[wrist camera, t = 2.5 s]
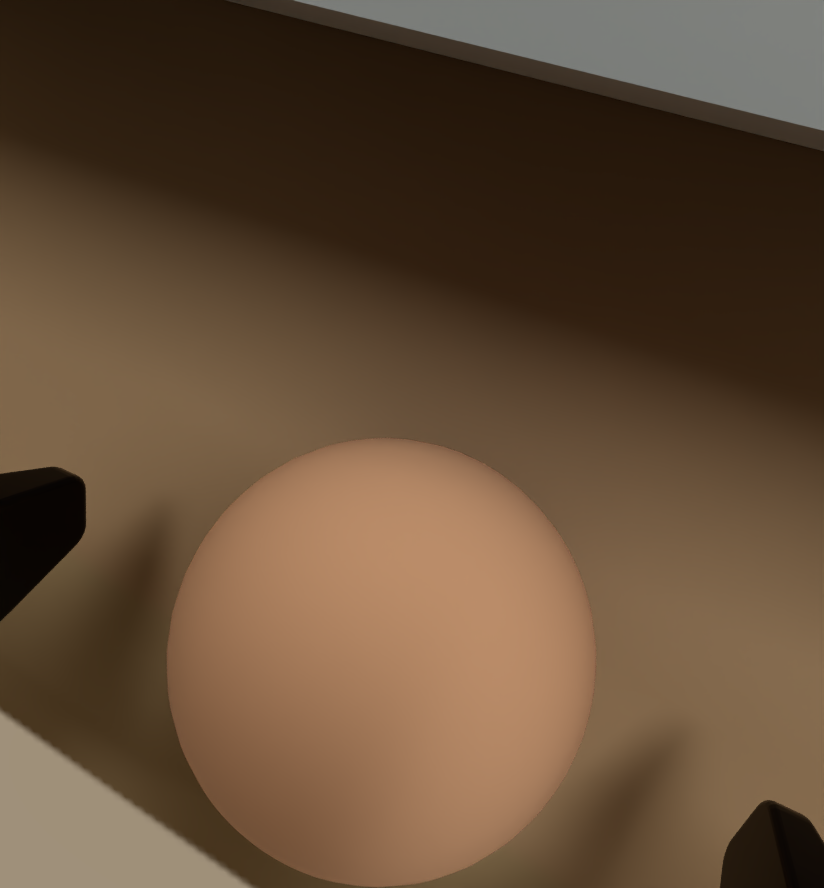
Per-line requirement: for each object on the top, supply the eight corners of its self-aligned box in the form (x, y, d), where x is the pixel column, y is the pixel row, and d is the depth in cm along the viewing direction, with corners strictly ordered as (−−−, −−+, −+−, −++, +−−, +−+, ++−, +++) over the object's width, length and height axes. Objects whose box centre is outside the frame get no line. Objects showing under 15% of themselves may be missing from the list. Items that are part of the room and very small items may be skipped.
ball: (286, 593, 12) (64, 839, 8) (332, 335, 10) (48, 487, 5) (551, 719, 11) (459, 1085, 7) (676, 462, 9) (654, 774, 4)
